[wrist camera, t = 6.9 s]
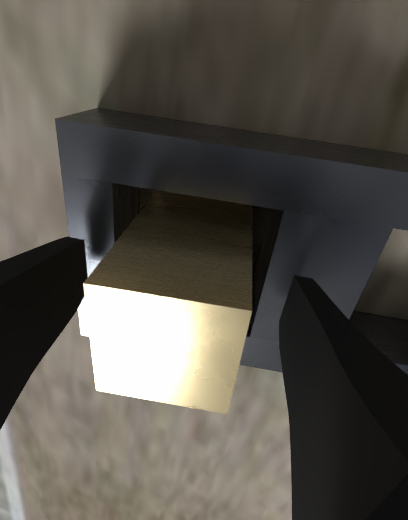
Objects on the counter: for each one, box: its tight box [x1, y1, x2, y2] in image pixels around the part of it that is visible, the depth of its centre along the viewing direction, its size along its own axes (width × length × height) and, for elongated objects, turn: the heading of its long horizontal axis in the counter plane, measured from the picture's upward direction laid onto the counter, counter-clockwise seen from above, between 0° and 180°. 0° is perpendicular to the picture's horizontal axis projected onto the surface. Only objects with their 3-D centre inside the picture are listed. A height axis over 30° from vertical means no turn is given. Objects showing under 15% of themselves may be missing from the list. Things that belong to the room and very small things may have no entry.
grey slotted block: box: [55, 108, 408, 374], centre depth 13 cm, size 18×9×3 cm, turn 83°
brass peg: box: [83, 190, 252, 414], centre depth 11 cm, size 4×4×7 cm
